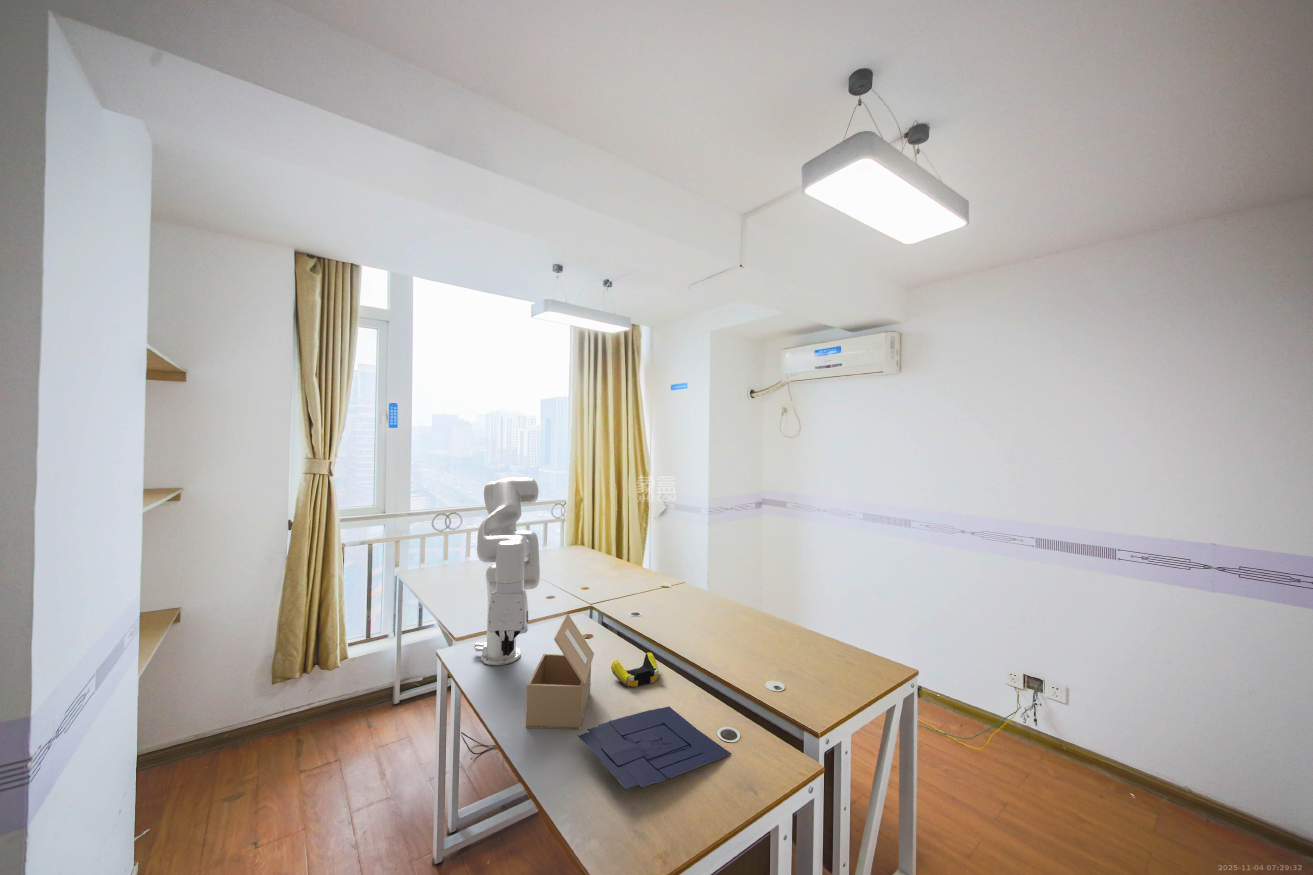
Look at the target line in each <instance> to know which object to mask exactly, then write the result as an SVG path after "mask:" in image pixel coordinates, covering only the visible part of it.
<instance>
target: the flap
mask: <svg viewBox="0 0 1313 875" xmlns="http://www.w3.org/2000/svg"><path fill="white" fill-rule="evenodd" d="M553 640H554V642H555V643H556V645H557V646H558V648H559V649H560V651H561V653H562V655H564V656H565V657H566V659H567V660H568V662H569V663H570V665H571V666H572V668H573V670H574V671H575V673H576V674H577V676H578V677H579V679H580V680H581V682H582V683H583V685H584V684H585V683H586V679H587V676H588V673H589V669H590V666H591V667H592V662H593V659H594V655H595V652H594V651H593V649H592V648H591V647H590V645H589V643H588V642H587V641H586V639H585V637H584V636H583V634H582V633H581V632H580V630H579V628H578V627H577V624H575V622H574V620H573V619H572V617H571V616H570V615H569V613H567V614H566V615H565V617H564V619H563V621H562V622H561V625H560V627H559V628H558V630H557V631H556V634H555V636H554V638H553Z"/></svg>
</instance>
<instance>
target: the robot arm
mask: <svg viewBox="0 0 1313 875" xmlns="http://www.w3.org/2000/svg"><path fill="white" fill-rule="evenodd" d="M538 497H539V486H538V482H537V481H536V480H535V479H534V478H532V477H530V478H529V477H506V478H501V479H499V480H496V481H490V482H489V483H487V484H485V486H484V488H483V499H484V505H485V508H486V511H487V513H488V516H487V515H486V517H485V518H484V520H483V521H482V522H481V524H480V526H479V528H478V532H477V541H476V542H477V543H476V551H477V552H476V553H477V557H478V559H479V561H480V562H482V563H487V564H489V563H493V564H491V565H490V566H489V567H488V568H486V571H485V585H486V594H487V611H486V612H487V615H486V617H487V619H486V641H485V642H475V643H474V646H473V649H474V651H475V652H481V655H480V661H481V662H482V663H483V664H486V665H489V666H502V665H503V666H504V665H509V664H512V663H514V662H515V661H517V660H518V659H519V658H520V657H521V649H520V648H519V647H517V637H518V635H522V634H526V633H527V632H528V631H529V626H528V623H529V603H528V601H529V600H528V595H527V591H528V590H529V591H530V590H534V589H536V588H538V586H539V584H540V578H541V574H540V573H541V570H540V569H541V568H540V567H541V566H540V565H541V564H540V550H539V539H538V536H537V533H536V532H535V531H532V530H517V522H519V520H520V519H521V516H522V505H532V504H534V503H536V502H537V500H538Z"/></svg>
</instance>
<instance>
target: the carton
mask: <svg viewBox="0 0 1313 875" xmlns="http://www.w3.org/2000/svg"><path fill="white" fill-rule="evenodd" d="M591 678H592V665H591V666H590V669H589V673H588V676H587V679H586V683H585V684H584V685H583V683H582V682H581V680H580V679H579V677H578V676H577V674H576V673H575V671H574V670H573V668H572V666H571V665H570V663H569V662H568V660H567V659H566V657H565V656H564V654H560V653H559V654H556V653H555V654H554V653H553V654H552V653H550V654H549V653H543V654H542V657H541V658H540V660H539V662H538V664H537V666H536V668H535V670H534V671H533V674H532V676H531V677H530V679H529V681H528V684H527V685H526V688H527V689H526V711H525V712H526V713H525V714H526V715H525V719H526V720H525V728H526V729H548V730H549V729H550V730H573V731H574V730H579V731H580V730H581V728H582V725H583V722H584V719H585V718H584V717H585V715H586V711H587V707H588V703H589V699H590V696H591Z"/></svg>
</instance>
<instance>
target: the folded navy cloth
mask: <svg viewBox="0 0 1313 875" xmlns="http://www.w3.org/2000/svg"><path fill="white" fill-rule="evenodd" d="M586 730H587V732H585V733H581V734H577V735H576V736H577V737H578V738H579V739H580V740H581V741H582V742H583V743H584V744H585V746H586V747H587V748H588V749H589V750H590V751H591V752H592V753H593V754H594V756H596V758H598V760H599V761H600V762H601V763H602V764H603V765H604V767H605V768H606V769H607V770H608V771H609V772H610V774H611V775H613V777H614V778H615V779H616V780H617V782H619V784H620V785H621V786H622V787H623V788H624V789H629V788H631V787H635V786H637V785H639V786H640V787H641V788H643V787H646V786H649V785H652V784H658V783H661V782H664V781H667V780H669V779H671V778H674V777H675V776H679V775H682V774H683V773H687V772H688V771H691V770H694V769H696V768H697V769H698V768H699V767H701V766H704V765H707V764H709V763H711V762H712V763H713V762H715V761H718V760H721V759H723V758H725V757H727V756H729V755H731V754H732V753H731V752H730V751H728V750H727V749H725V747H723V746H721V745H720V744H719V743H718V742H716V741H715V740H714V739H712V738H711V737H709V736H708V735H707V734H705V733H703V732H702V731H701V730H699V729H697V728H696V727H695V726H694V725H693V724H691V723H690V722H689V721H688V720H687V719H685V718H684V717H683V716H682V715H680V713H678V712H677V711H675V710H674V709H673V708H672V707H671V706H664V707H662V708H661V707H660V708H659V707H658V708H655V709H649V710H646V711H642V712H637V713H634V714H631V715H626V716H623V717H620V718H615V719H613V720H609V721H607V722H603V723H600V724H598V725H597V726H593V727H590V728H587V729H586Z"/></svg>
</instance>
